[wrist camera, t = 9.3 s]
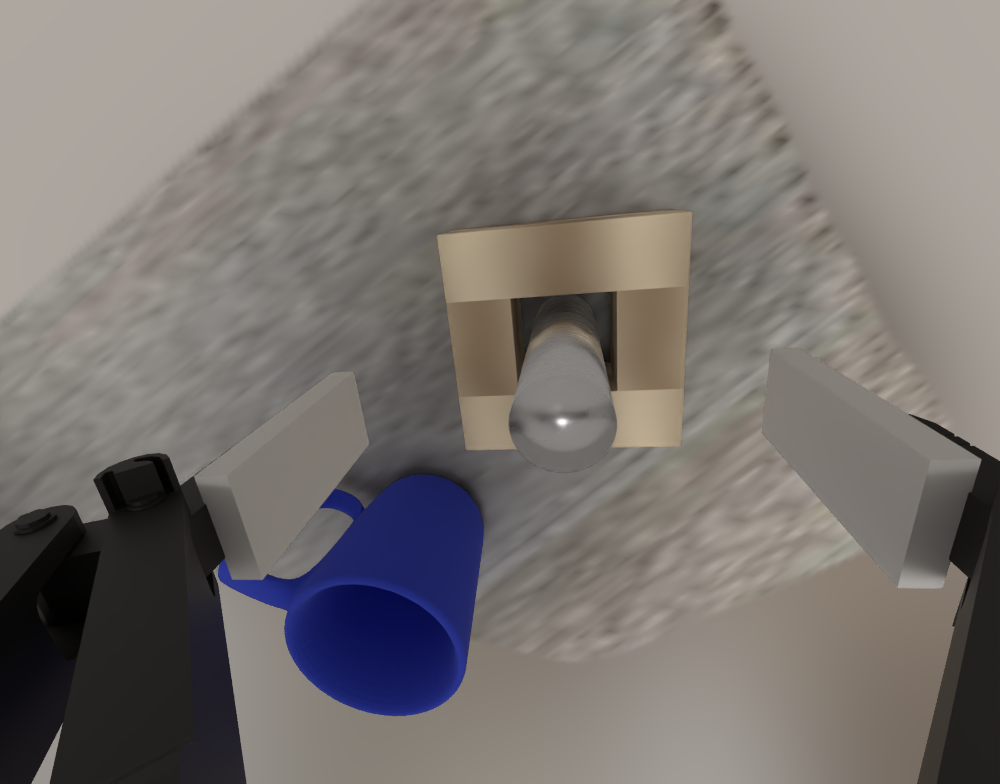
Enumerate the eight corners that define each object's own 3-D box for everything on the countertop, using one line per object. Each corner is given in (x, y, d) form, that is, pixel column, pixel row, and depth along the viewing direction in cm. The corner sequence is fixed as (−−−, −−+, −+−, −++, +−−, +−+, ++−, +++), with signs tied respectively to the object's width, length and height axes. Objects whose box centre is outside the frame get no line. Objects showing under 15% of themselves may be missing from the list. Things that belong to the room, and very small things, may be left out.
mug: (327, 412, 28) (210, 514, 19) (517, 487, 28) (492, 625, 19) (301, 516, 31) (191, 647, 22) (472, 583, 32) (432, 740, 22)
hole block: (480, 415, 27) (465, 450, 23) (457, 229, 23) (436, 235, 20) (664, 410, 25) (681, 446, 22) (671, 209, 22) (692, 211, 18)
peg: (537, 352, 25) (512, 473, 14) (533, 295, 24) (504, 377, 13) (595, 350, 25) (617, 471, 14) (594, 292, 24) (617, 372, 13)
